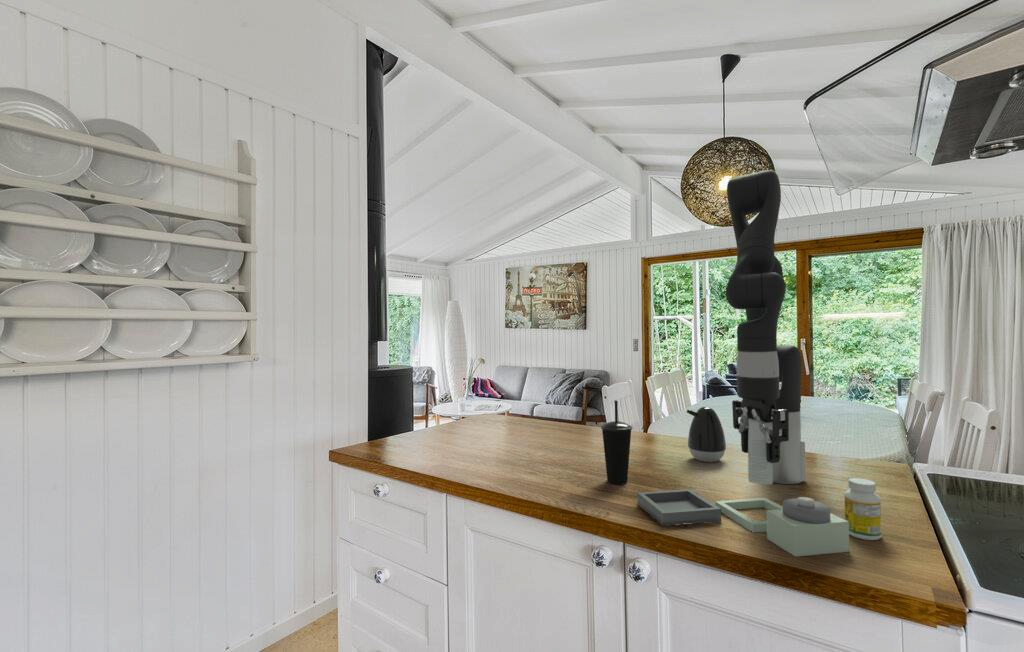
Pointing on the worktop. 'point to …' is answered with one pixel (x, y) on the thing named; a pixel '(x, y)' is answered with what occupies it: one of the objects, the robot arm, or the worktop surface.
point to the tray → (678, 507)
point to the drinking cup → (616, 449)
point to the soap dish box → (794, 524)
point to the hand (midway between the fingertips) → (759, 456)
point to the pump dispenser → (706, 435)
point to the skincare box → (758, 455)
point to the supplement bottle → (863, 509)
